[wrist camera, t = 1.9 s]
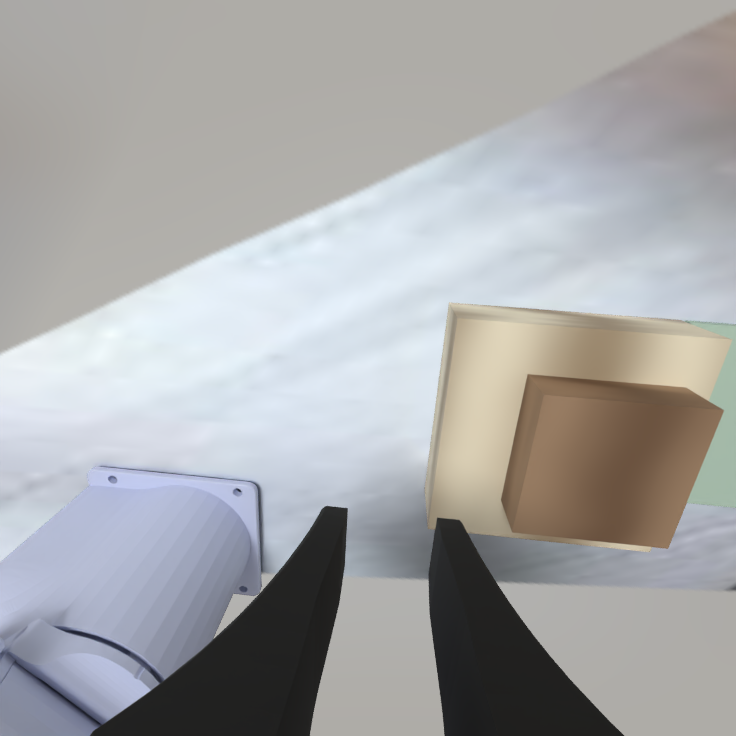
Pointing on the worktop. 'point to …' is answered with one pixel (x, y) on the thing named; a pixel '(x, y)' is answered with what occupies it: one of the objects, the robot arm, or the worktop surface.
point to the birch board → (507, 382)
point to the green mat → (720, 432)
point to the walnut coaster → (605, 459)
